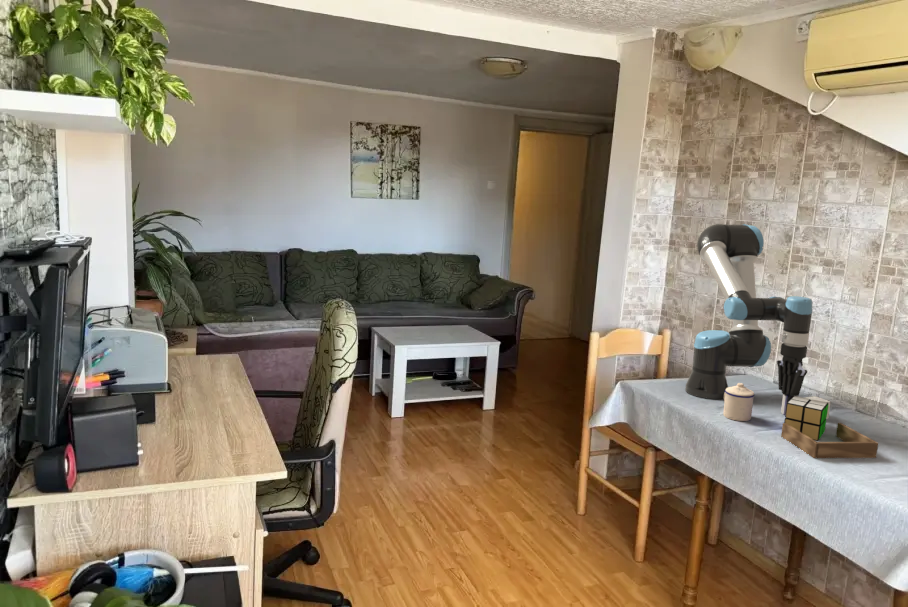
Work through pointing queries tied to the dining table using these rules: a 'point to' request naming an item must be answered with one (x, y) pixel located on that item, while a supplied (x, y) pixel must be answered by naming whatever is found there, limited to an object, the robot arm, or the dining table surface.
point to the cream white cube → (822, 401)
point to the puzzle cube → (807, 416)
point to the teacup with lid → (738, 403)
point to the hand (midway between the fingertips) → (785, 413)
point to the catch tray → (833, 443)
